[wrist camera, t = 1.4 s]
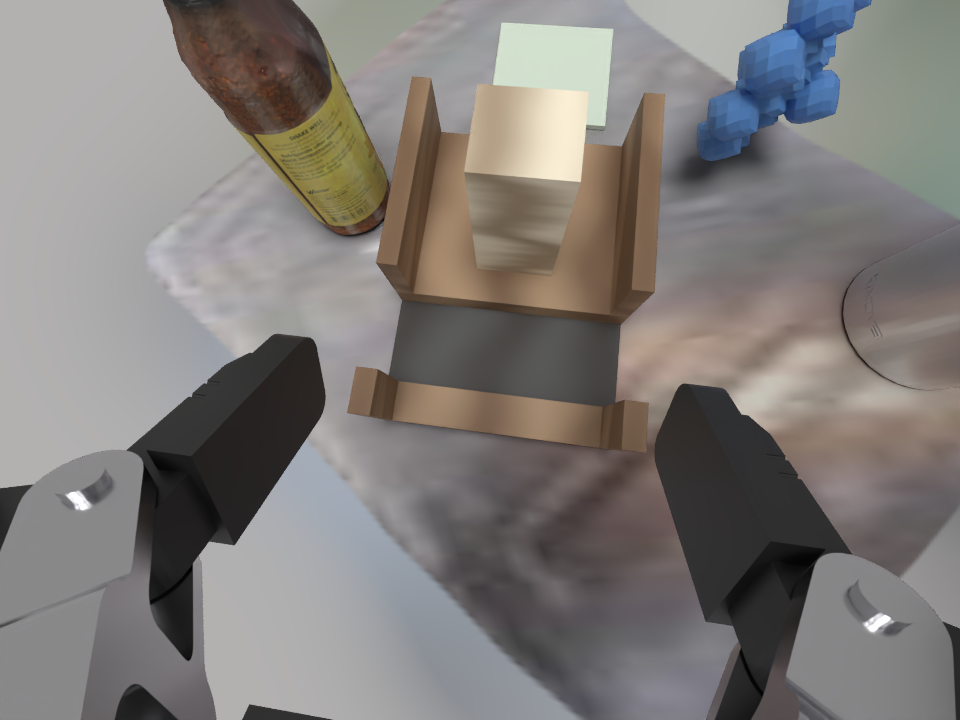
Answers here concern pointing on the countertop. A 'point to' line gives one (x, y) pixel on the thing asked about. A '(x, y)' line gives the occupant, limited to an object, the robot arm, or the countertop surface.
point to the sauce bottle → (285, 103)
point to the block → (523, 174)
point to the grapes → (780, 78)
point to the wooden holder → (515, 295)
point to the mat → (557, 62)
